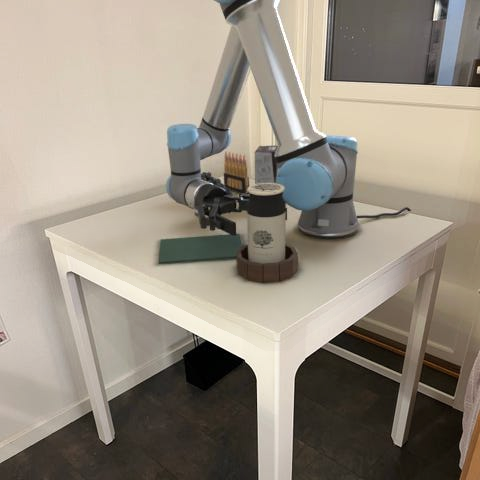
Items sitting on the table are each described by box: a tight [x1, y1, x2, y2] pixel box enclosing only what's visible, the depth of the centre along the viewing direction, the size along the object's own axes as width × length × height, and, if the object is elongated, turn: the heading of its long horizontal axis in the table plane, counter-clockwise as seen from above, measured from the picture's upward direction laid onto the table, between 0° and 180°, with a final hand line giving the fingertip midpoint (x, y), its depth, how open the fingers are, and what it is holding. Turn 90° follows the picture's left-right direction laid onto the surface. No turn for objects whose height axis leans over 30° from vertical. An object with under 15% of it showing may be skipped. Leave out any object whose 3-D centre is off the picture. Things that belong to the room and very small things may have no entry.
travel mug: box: [246, 183, 287, 264], centre depth 101 cm, size 8×8×18 cm
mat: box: [158, 233, 243, 265], centre depth 117 cm, size 20×14×1 cm
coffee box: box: [254, 145, 279, 184], centre depth 140 cm, size 9×6×16 cm
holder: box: [235, 242, 299, 284], centre depth 105 cm, size 13×13×4 cm
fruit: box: [201, 171, 234, 196], centre depth 146 cm, size 9×8×15 cm
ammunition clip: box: [223, 150, 250, 195], centre depth 155 cm, size 11×2×12 cm, turn 41°
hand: (261, 221), depth 102 cm, fingers open, 13 cm apart
